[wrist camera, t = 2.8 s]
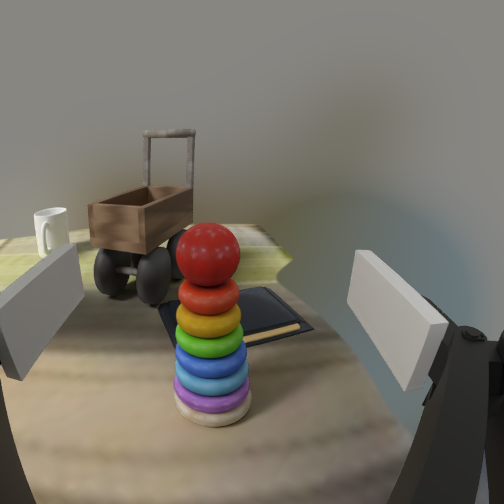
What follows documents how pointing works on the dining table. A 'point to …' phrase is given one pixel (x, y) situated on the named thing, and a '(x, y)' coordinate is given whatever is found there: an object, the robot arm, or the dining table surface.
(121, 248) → the trolley
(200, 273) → the stacking toy
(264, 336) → the dark navy book
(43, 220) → the cup
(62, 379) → the dining table surface
